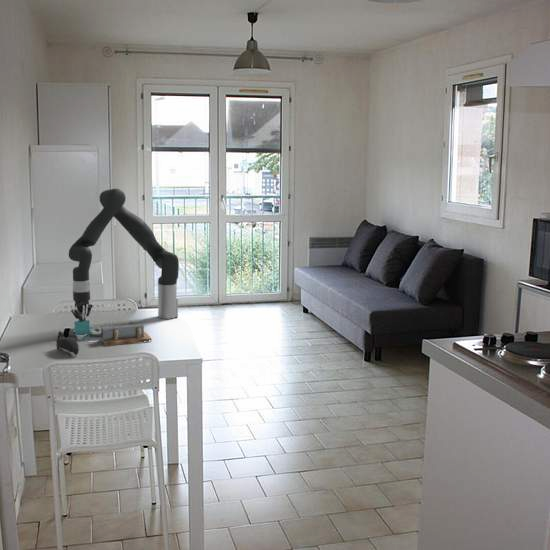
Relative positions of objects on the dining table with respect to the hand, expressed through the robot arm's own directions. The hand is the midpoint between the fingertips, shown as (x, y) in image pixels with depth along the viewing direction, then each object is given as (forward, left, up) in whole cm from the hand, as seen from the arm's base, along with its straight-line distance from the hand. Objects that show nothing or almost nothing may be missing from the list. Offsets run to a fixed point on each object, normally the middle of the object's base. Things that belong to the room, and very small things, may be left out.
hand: (82, 326), depth 323 cm
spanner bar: (-15, +18, -2) cm, 23 cm away
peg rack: (-16, +18, -3) cm, 24 cm away
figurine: (+10, +28, -3) cm, 30 cm away
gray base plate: (-4, +3, -3) cm, 6 cm away
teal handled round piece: (-3, +4, -2) cm, 6 cm away
